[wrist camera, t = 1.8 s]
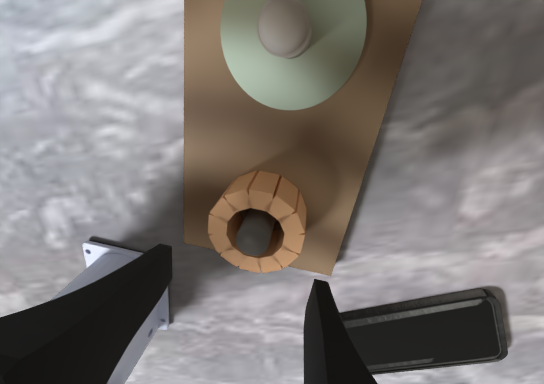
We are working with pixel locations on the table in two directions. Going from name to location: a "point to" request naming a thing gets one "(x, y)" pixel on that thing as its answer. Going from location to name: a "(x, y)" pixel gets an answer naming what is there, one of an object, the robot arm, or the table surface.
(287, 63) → the stand board
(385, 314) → the black wedge
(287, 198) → the ring
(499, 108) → the table surface
